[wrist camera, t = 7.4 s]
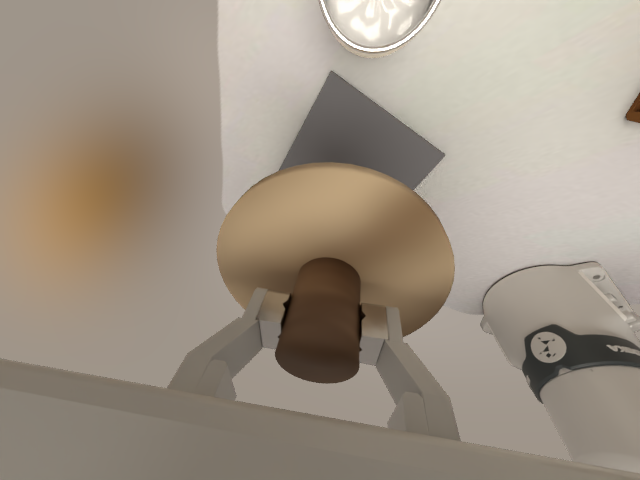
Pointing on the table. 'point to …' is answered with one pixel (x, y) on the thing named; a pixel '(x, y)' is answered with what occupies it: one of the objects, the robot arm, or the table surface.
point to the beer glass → (376, 23)
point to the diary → (634, 111)
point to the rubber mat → (360, 136)
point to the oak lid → (335, 259)
